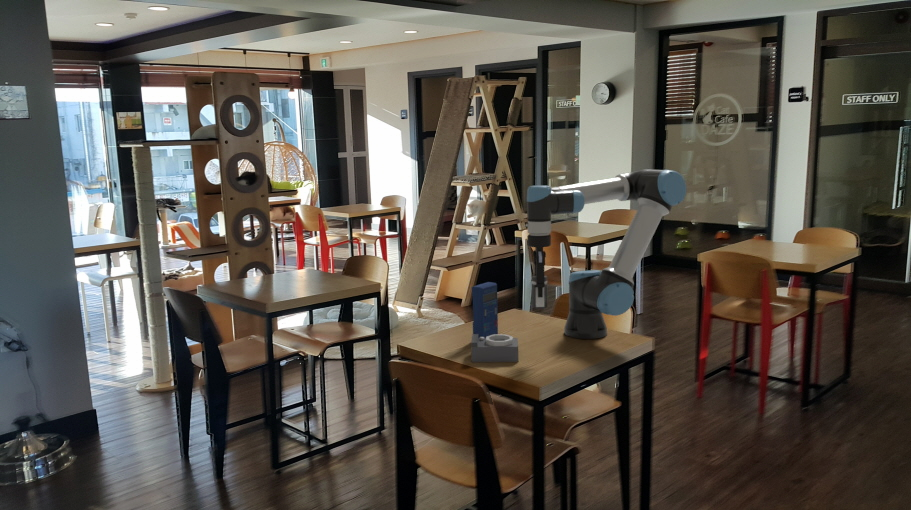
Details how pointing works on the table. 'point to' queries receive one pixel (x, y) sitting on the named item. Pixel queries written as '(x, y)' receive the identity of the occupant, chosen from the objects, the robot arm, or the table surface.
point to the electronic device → (485, 309)
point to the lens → (535, 293)
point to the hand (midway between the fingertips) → (539, 304)
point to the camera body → (494, 348)
